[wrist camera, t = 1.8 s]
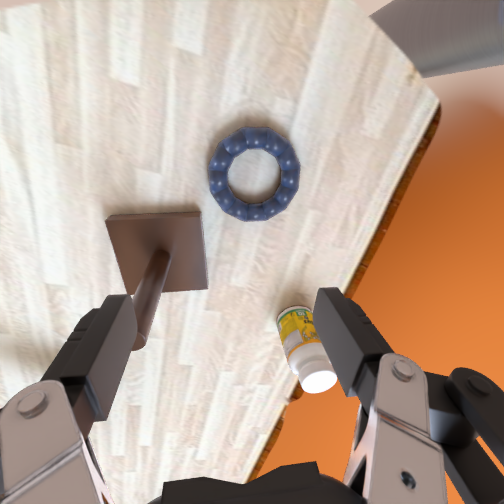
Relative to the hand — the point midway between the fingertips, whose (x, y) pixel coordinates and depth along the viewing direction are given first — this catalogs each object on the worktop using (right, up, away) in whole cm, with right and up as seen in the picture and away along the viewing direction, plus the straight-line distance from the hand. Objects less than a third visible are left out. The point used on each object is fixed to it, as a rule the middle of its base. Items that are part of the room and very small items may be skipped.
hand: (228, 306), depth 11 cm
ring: (+1, +9, +13) cm, 16 cm away
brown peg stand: (-9, +2, +17) cm, 19 cm away
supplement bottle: (+7, -7, +24) cm, 26 cm away
